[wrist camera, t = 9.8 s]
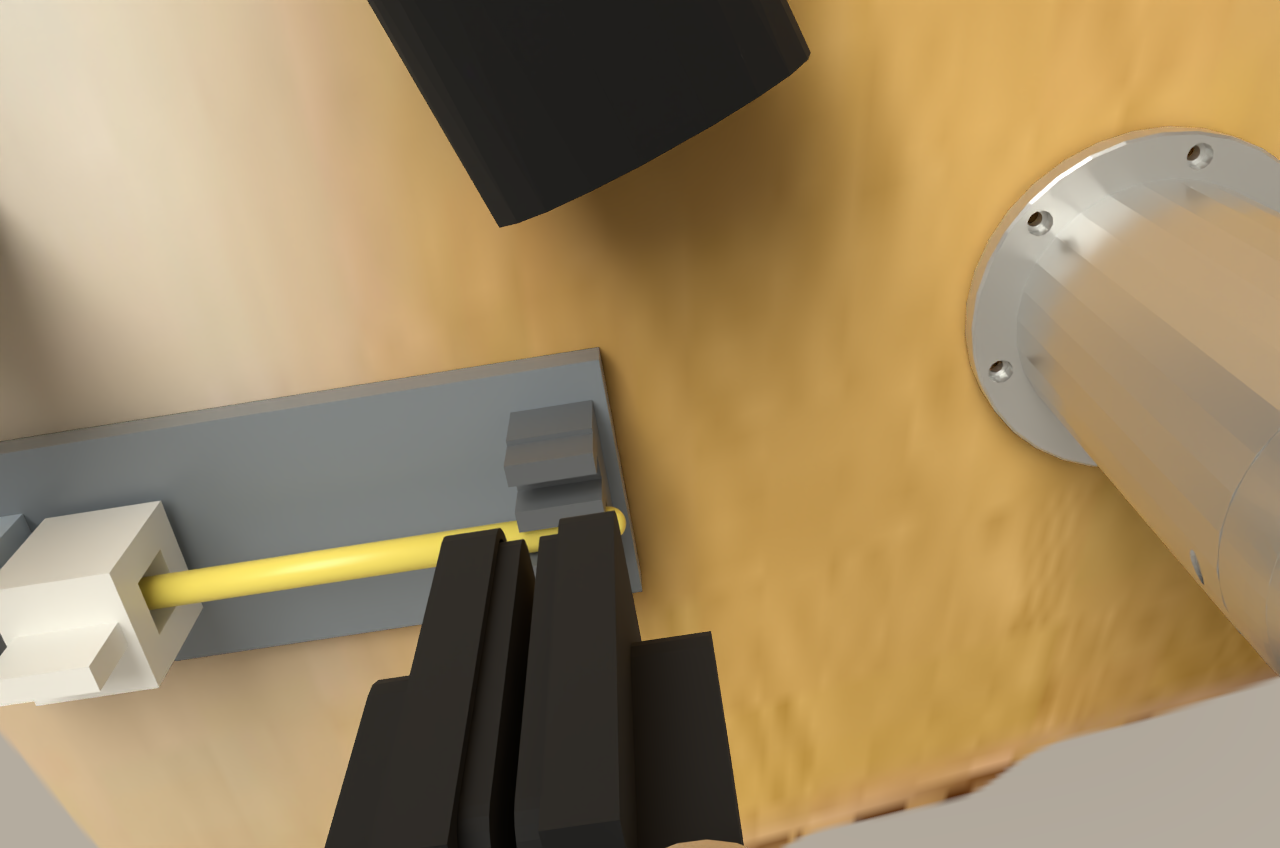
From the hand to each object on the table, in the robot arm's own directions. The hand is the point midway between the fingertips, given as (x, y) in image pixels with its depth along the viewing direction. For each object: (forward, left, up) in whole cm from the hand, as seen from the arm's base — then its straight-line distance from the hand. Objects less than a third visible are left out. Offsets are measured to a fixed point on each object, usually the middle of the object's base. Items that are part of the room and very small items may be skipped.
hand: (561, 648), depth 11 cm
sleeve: (+5, +24, -27) cm, 37 cm away
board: (+1, +20, -29) cm, 35 cm away
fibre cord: (-1, +18, -26) cm, 31 cm away
